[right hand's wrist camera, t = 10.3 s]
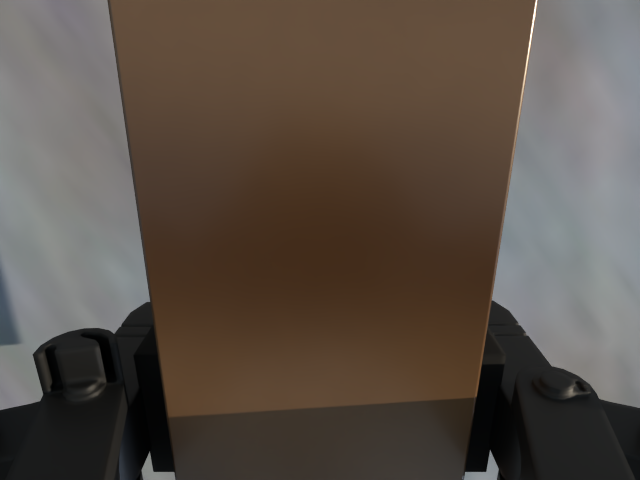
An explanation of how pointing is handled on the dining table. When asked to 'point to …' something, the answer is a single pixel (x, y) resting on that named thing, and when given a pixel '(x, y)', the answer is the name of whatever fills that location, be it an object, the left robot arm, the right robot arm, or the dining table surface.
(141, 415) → the right robot arm
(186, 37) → the beam
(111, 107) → the dining table surface
